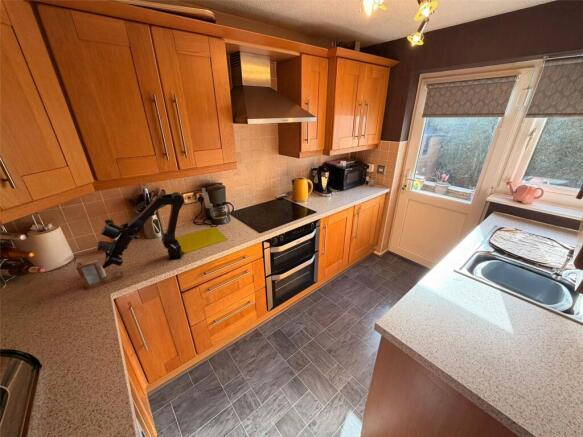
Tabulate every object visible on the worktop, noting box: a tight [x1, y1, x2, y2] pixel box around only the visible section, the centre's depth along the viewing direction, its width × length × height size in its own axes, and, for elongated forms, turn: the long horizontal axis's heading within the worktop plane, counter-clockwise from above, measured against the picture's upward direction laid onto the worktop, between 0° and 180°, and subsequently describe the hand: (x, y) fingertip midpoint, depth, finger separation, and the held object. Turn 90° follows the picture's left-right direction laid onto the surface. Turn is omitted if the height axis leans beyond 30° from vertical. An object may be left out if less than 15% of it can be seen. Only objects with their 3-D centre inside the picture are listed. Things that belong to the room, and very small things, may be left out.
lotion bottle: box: [104, 218, 121, 242], centre depth 142 cm, size 6×6×20 cm
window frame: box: [76, 261, 122, 290], centre depth 115 cm, size 14×5×13 cm, turn 128°
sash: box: [83, 259, 107, 277], centre depth 115 cm, size 6×1×10 cm, turn 128°
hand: (103, 267), depth 117 cm, fingers closed, pressing on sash
